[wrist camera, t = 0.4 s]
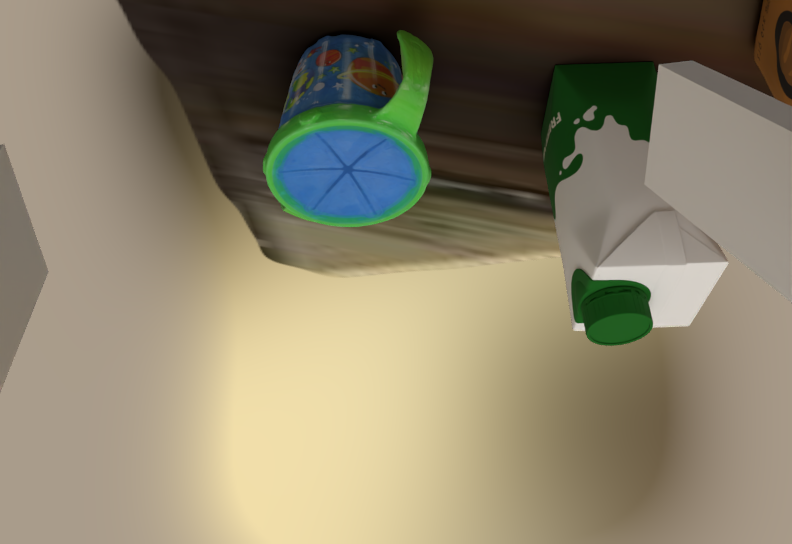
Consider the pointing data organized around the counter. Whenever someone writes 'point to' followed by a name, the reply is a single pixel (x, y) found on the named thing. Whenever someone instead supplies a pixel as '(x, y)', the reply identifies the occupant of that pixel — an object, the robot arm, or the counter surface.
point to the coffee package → (776, 47)
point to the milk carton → (618, 208)
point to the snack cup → (352, 132)
